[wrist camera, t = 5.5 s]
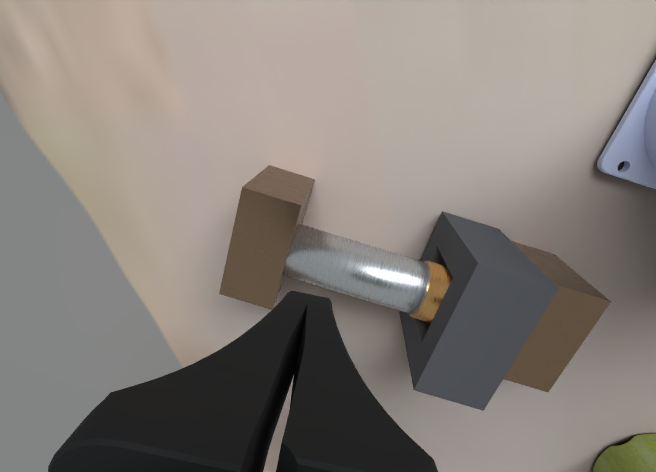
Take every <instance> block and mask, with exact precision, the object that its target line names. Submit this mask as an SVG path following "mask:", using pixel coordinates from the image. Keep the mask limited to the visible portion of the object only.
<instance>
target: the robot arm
mask: <svg viewBox="0 0 656 472" xmlns="http://www.w3.org/2000/svg"><path fill="white" fill-rule="evenodd" d="M623 161H624V167H623V168H622V169H621V170H619V171H618V169H617V167H618V165H619V164H620V163H621V162H623ZM597 167H598V169H599V170H600V171H601V172H603V173H606V174H609V175H612V176H615V177H619V178H622V179H625V180H628V181H631V182H634V183H637V184H640V185H643V186H646V187H649V188H653V189H656V60H655V62H654V64H653V65H652V67H651V69H650V71H649V72H648V74H647V76H646V78H645V79H644V81H643V83H642V84H641V86H640V88H639V90H638V91H637V93H636V95H635V97H634V98H633V100H632V102H631V104H630V105H629V107H628V109H627V110H626V112H625V114H624V116H623V117H622V119H621V121H620V123H619V124H618V126H617V128H616V130H615V131H614V133H613V135H612V136H611V138H610V140H609V142H608V143H607V145H606V147H605V149H604V150H603V152H602V154H601V156H600V157H599V159H598V162H597ZM293 375H294V379H293V387H292V395H291V403H290V411H289V416H288V420H287V424H286V428H285V432H284V436H283V440H282V444H281V449H280V454H279V460H278V465H277V470H276V472H438V470H437V467H436V465H435V462H434V460H433V458H431V457H430V456H429V455H428V454H427V453H426V452H425V451H424V450H423V449H422V448H421V447H420V446H419V445H418V444H417V443H415V442H414V441H413V440H412V439H411V438H410V437H409V436H408V435H407V434H406V433H405V432H404V431H403V430H402V429H401V428H400V427H399V426H398V425H397V424H396V422H395V421H394V420H393V419H392V418H391V417H390V416H389V415H388V414H387V412H386V411H385V410H384V409H383V407H382V406H381V405H380V403H379V402H378V401H377V400H376V398H375V397H374V396H373V394H372V393H371V392H370V390H369V389H368V387H367V386H366V384H365V383H364V381H363V380H362V378H361V376H360V375H359V373H358V371H357V369H356V368H355V366H354V364H353V362H352V360H351V358H350V356H349V354H348V352H347V350H346V348H345V345H344V343H343V341H342V338H341V335H340V333H339V330H338V327H337V325H336V321H335V318H334V314H333V310H332V303H331V301H330V299H329V298H325V297H320V296H315V295H310V294H305V293H300V292H295V291H291V292H289V293H287V295H286V296H285V297H284V298H283V299H282V301H281V302H280V303H279V304H278V305H277V306H276V307H275V308H274V309H273V310H272V311H271V312H269V313H268V314H267V315H266V316H265V317H264V318H263V319H262V320H261V321H259V322H258V323H257V324H256V325H254V326H253V327H252V328H251V329H249V330H248V331H247V332H245V333H244V334H243V335H241V336H240V337H239V338H237V339H236V340H234V341H233V342H231V343H230V344H228V345H227V346H225V347H223V348H222V349H220V350H218V351H217V352H215V353H213V354H211V355H209V356H208V357H206V358H204V359H202V360H200V361H198V362H196V363H194V364H192V365H189V366H187V367H185V368H182V369H180V370H178V371H176V372H173V373H170V374H168V375H165V376H163V377H160V378H157V379H154V380H151V381H148V382H145V383H141V384H138V385H135V386H132V387H129V388H125V389H122V390H118V391H115V392H111V393H110V394H109V395H108V396H107V397H106V398H105V399H104V400H103V401H102V402H101V403H100V404H99V405H98V406H97V407H96V408H95V409H94V410H93V411H92V412H91V413H90V414H89V415H88V416H87V417H86V418H85V419H84V421H82V423H81V424H80V425H79V426H78V427H77V429H76V430H75V431H74V432H73V434H72V435H71V436H70V437H69V438H68V439H67V440H66V442H65V443H64V444H63V445H62V446H61V448H60V449H59V450H58V451H57V452H56V453H55V455H54V457H53V459H52V461H51V463H50V465H49V469H48V472H263V470H264V466H265V462H266V458H267V454H268V450H269V446H270V443H271V440H272V436H273V434H274V431H275V428H276V425H277V422H278V419H279V416H280V413H281V410H282V407H283V405H284V402H285V399H286V396H287V393H288V390H289V387H290V384H291V381H292V378H293Z"/></svg>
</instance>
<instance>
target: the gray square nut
mask: <svg viewBox="0 0 656 472" xmlns="http://www.w3.org/2000/svg"><path fill="white" fill-rule="evenodd" d="M421 261H422V262H425V261H431V262H434V263H437V264H440V265H444V266H447V267H448V269H449V271H450V273H451V275H452V277H453V279H452V281H451V283H450V285H449V287H448V289H447V291H446V293H445V295H444V297H443V300H442V302H441V304H440V306H439V308H438V310H437V312H436V314H435V316H434V318H433V320H432V322H431V323H429V322H426V321H423V320H419V319H416V318H413V317H411V316H410V315H409V313H406V312H402V311H400V317H401V322H402V328H403V333H404V339H405V344H406V350H407V355H408V361H409V366H410V371H411V377H412V382H413V388H414V390H416V391H419V392H422V393H426V394H429V395H433V396H436V397H439V398H443V399H446V400H449V401H453V402H456V403H460V404H463V405H466V406H470V407H473V408H476V409H480V410H484V409H485V407H486V406H487V404H488V402H489V401H490V399H491V397H492V396H493V394H494V393H495V391H496V389H497V388H498V386H499V385H500V383H501V381H502V380H503V378H504V376H505V375H506V373H507V372H508V370H509V368H510V367H511V365H512V364H513V362H514V360H515V359H516V357H517V355H518V354H519V352H520V351H521V349H522V347H523V346H524V344H525V342H526V341H527V339H528V338H529V336H530V334H531V333H532V331H533V330H534V328H535V326H536V325H537V323H538V321H539V320H540V318H541V317H542V315H543V313H544V312H545V310H546V309H547V307H548V305H549V304H550V302H551V300H552V299H553V297H554V296H555V294H556V292H557V291H558V289H559V288H558V287H557V286H556V285H555V284H554V283H553V282H552V281H551V280H550V279H549V278H548V277H547V276H546V275H545V274H544V273H543V272H542V271H541V270H540V269H539V268H538V267H537V266H536V265H535V264H534V263H533V262H532V261H531V260H530V259H529V258H528V257H527V256H526V255H525V254H524V253H523V252H522V251H521V250H520V249H519V248H518V247H517V246H516V245H514V244H513V243H512V242H511V241H510V240H509V239H508V238H507V237H506V236H505V235H504V234H503V233H502V232H501V231H500V230H499V229H497V228H494V227H490V226H487V225H484V224H481V223H478V222H474V221H471V220H468V219H465V218H462V217H458V216H455V215H452V214H449V213H446V212H443V211H442V213H441V215H440V218H439V220H438V222H437V224H436V227H435V229H434V231H433V233H432V236H431V238H430V240H429V243H428V245H427V247H426V249H425V252H424V254H423V256H422V259H421Z"/></svg>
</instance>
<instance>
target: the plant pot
mask: <svg viewBox="0 0 656 472" xmlns="http://www.w3.org/2000/svg"><path fill="white" fill-rule="evenodd" d="M593 472H656V434H641V435H636V436H634V437H633V438H632V439H631V440H630V441H629V442H627V443H625V444H622V445H618V446H610V447H609V448H607V449H606V450H605V451H604V452H603V453H602V454H601V455H600V456H599V457H598V459H597V461H596V462H595V465H594V468H593Z"/></svg>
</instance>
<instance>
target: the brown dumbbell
mask: <svg viewBox="0 0 656 472" xmlns="http://www.w3.org/2000/svg"><path fill="white" fill-rule="evenodd" d="M313 184H314V179H311V178H308V177H305V176H301V175H298V174H295V173H292V172H289V171H285V170H282V169H279V168H276V167H273V166H268V167H266V168H265V169H264V170H263V171H262V172H260V173H259V174H258V175H257V176H255V177H254V178H253V179H252V180H251V181H249V182H248V183H247V184H246V185H244V186H243V187H242V191H241V196H240V200H239V205H238V209H237V214H236V219H235V223H234V228H233V233H232V237H231V242H230V247H229V251H228V256H227V261H226V265H225V270H224V274H223V279H222V284H221V288H220V293H219V294H222V295H225V296H229V297H232V298H235V299H239V300H242V301H245V302H249V303H252V304H255V305H259V306H262V307H265V308H269V309H272V308H273V306H274V303H275V301H276V298H277V296H278V293H279V291H280V288H281V286H282V283H283V281H284V278H285V276H287V277H290V278H294V279H297V280H300V281H303V282H307V283H310V284H313V285H317V286H320V287H323V288H327V289H330V290H333V291H336V292H340V293H343V294H346V295H350V296H353V297H356V298H360V299H363V300H366V301H369V302H373V303H376V304H379V305H383V306H386V307H389V308H392V309H396V310H399V311H402V312H406V313H409V315H410V316H411V317H413V318H416V319H419V320H423V321H426V322H429V323H431V322H432V320H433V318H434V316H435V314H436V312H437V310H438V308H439V306H440V304H441V302H442V300H443V297H444V295H445V293H446V291H447V289H448V287H449V285H450V283H451V281H452V279H453V277H452V275H451V273H450V271H449V269H448V267H447V266H444V265H440V264H437V263H434V262H431V261H425V262H422V261H419V260H415V259H412V258H409V257H406V256H402V255H399V254H396V253H393V252H389V251H386V250H383V249H380V248H376V247H373V246H370V245H367V244H363V243H360V242H357V241H354V240H351V239H347V238H344V237H341V236H338V235H334V234H331V233H328V232H325V231H321V230H318V229H315V228H312V227H308V226H305V225H302V222H303V218H304V215H305V211H306V208H307V204H308V201H309V197H310V194H311V191H312V187H313ZM511 242H512V241H511ZM512 243H513V244H514V245H516V246H517V247H518V248H519V249H520V250H521V251H522V252H523V253H524V254H525V255H526V256H527V257H528V258H529V259H530V260H531V261H532V262H533V263H534V264H535V265H536V266H537V267H538V268H539V269H540V270H541V271H542V272H543V273H544V274H545V275H546V276H547V277H548V278H549V279H550V280H551V281H552V282H553V283H554V284H555V285H556V286H557V287H558V288H559V289H558V291H557V292H556V294H555V296H554V297H553V299H552V300H551V302H550V304H549V305H548V307H547V309H546V310H545V312H544V313H543V315H542V317H541V318H540V320H539V321H538V323H537V325H536V326H535V328H534V330H533V331H532V333H531V334H530V336H529V338H528V339H527V341H526V342H525V344H524V346H523V347H522V349H521V351H520V352H519V354H518V355H517V357H516V359H515V360H514V362H513V364H512V365H511V367H510V368H509V370H508V372H507V373H506V375H505V376H504V378H503V379H505V380H509V381H512V382H515V383H519V384H522V385H525V386H529V387H532V388H535V389H539V390H542V391H545V392H549V390H550V389H551V387H552V386H553V384H554V383H555V382H556V380H557V379H558V377H559V376H560V374H561V373H562V371H563V370H564V369H565V367H566V366H567V364H568V363H569V361H570V360H571V358H572V357H573V356H574V354H575V353H576V351H577V350H578V348H579V347H580V345H581V344H582V343H583V341H584V340H585V338H586V337H587V335H588V334H589V332H590V331H591V329H592V328H593V327H594V325H595V324H596V322H597V321H598V319H599V318H600V316H601V315H602V314H603V312H604V311H605V309H606V308H607V306H608V305H609V303H610V302H611V301H609V300H608V299H607V298H606V297H605V296H603V295H602V294H601V293H600V292H599V291H597V290H596V289H595V288H594V287H593V286H591V285H590V284H589V283H588V282H587V281H585V280H584V279H583V278H582V277H581V276H579V275H578V274H577V273H576V272H575V271H573V270H572V269H571V268H570V267H569V266H567V265H566V264H565V263H564V262H563V261H561V260H560V259H559V258H558V257H557V256H555V255H553V254H550V253H547V252H544V251H541V250H537V249H534V248H531V247H528V246H525V245H521V244H518V243H515V242H512Z"/></svg>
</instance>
